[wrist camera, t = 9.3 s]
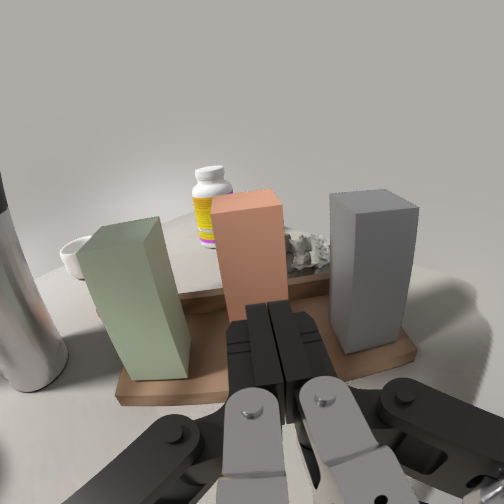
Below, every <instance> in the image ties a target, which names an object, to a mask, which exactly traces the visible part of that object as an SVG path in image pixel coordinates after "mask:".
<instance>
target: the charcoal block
mask: <svg viewBox="0 0 504 504" xmlns="http://www.w3.org/2000/svg"><path fill="white" fill-rule="evenodd" d="M418 216H419V207H418V206H416V205H414V204H412V203H410V202H409V201H407V200H405V199H403V198H401V197H399V196H397V195H395V194H394V193H392V192H390V191H388V190H386V189H380V190H367V191H356V192H355V191H354V192H344V193H343V192H342V193H332V194H330V280H329V308H328V320H329V322H330V324H331V326H332V328H333V330H334V332H335V334H336V336H337V338H338V340H339V342H340V344H341V347H342V349H343V351H344V353H345V354H348V353H352V352H356V351H360V350H364V349H368V348H372V347H376V346H380V345H383V344H387V343H391V342H394V341H397V338H398V334H399V330H400V326H401V322H402V317H403V313H404V308H405V303H406V298H407V293H408V288H409V283H410V277H411V271H412V265H413V258H414V251H415V243H416V235H417V226H418Z"/></svg>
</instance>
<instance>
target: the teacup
mask: <svg viewBox="0 0 504 504" xmlns="http://www.w3.org/2000/svg"><path fill="white" fill-rule="evenodd" d="M91 237H92V236H86V237H82V238H79V239H76V240H74V241H72V242H70V243H68V244H66V245H65V246H64V247H63V248H62V249H61V250H60V256H61V259H62V261H63V263H64V265H65V267H66V269H67V271H68V273H69V274H70V275H71V276H73V277H75V278H78V279H84V276H83V274H82V271H81V268H80V265H79V263H78V260H77V257H76V253H77V252H78V250H79V249H80V248H81V247H82V246H83V245H84V244H85V243H86V242H87V241H88V240H89V239H90V238H91Z"/></svg>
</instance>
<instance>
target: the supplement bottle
mask: <svg viewBox="0 0 504 504" xmlns="http://www.w3.org/2000/svg"><path fill="white" fill-rule="evenodd" d="M223 175H224V167H223V166H209V167H204V168H200V169H197V170H195V177H196V179H197V181H198V184H197V185H196V186H195V187H194V188H193V190H192V196H193V201H194V206H195V213H196V219H197V224H198V230H199V236H200V241H201V244H202V245H203V246H205V247H207V248H216V245H215V239H214V233H213V227H212V221H211V215H210V213H211V205H212V198H213V196H218V195H225V194H232V193H233V189H232V185H231V184H230V183H229V182H228V181H225V180H224V177H223Z"/></svg>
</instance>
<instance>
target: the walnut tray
mask: <svg viewBox="0 0 504 504" xmlns="http://www.w3.org/2000/svg"><path fill="white" fill-rule="evenodd" d="M329 280H330V272H328V273H322V274H316V275H310V276H303V277H297V278H290V279H287V283H288V301H289V303H290V306H291V309H292V312H293V313H296V312H303V311H305V312H306V313H307V314H308V315H310V316H311V317H312V318H313V319H314V320H315V323H316V325H317V328H318V330H319V332H320V335H321V337H322V341H323V342H324V345H325V347H326V350H327V352H328V354H329V357H330V359H331V362H332V364H333V367H334V369H335V372H336V374H337V376H338V378H339V379H340V380H342V381H343V382H345V381H349V380H353V379H356V378H360V377H364V376H368V375H371V374H375V373H378V372H382V371H385V370H388V369H391V368H395V367H398V366H401V365H404V364H407V363H410V362H413V361H414V358H415V355H416V352H417V348H416V347H415V346H414V344H413V343H412V341H411V340H410V339H409V337H408V336H407V334H406V333H405V332H404V330H403V329H402V328H401V326H400V330H399V334H398V338H397V341H394V342H391V343H387V344H383V345H380V346H376V347H372V348H368V349H364V350H360V351H356V352H352V353H348V354H345V353H344V351H343V349H342V347H341V344H340V342H339V340H338V338H337V336H336V334H335V332H334V330H333V328H332V326H331V324H330V322H329V320H328V308H329ZM178 295H179V298H180V302H181V305H182V309H183V312H184V316H185V319H186V323H187V326H188V329H189V333H190V336H191V346H190V357H189V368H188V378H179V379H161V380H132V379H131V378H130V376H129V374H128V372H127V370H126V368H125V367H124V365H123V368H122V372H121V375H120V378H119V382H118V385H117V389H116V392H115V397H116V398H117V400H118V401H119V403H120V404H121V406H173V405H194V404H208V403H220V402H226V400H227V398H228V395H229V384H228V365H227V344H226V331H227V329H228V327H229V325H230V321H229V316H228V311H227V305H226V300H225V295H224V289H223V288H219V289H212V290H204V291H196V292H188V293H180V294H178Z"/></svg>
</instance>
